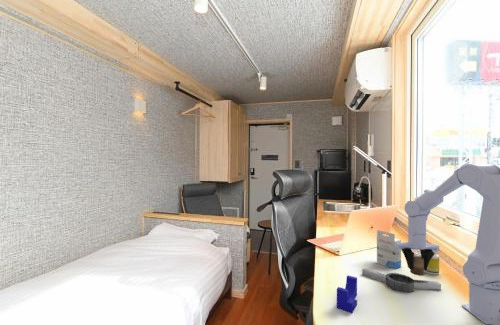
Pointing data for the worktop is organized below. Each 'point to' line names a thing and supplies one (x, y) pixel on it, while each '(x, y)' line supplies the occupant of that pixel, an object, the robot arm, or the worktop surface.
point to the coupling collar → (401, 281)
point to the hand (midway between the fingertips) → (417, 268)
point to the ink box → (388, 250)
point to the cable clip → (347, 295)
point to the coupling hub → (418, 265)
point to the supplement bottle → (433, 264)
